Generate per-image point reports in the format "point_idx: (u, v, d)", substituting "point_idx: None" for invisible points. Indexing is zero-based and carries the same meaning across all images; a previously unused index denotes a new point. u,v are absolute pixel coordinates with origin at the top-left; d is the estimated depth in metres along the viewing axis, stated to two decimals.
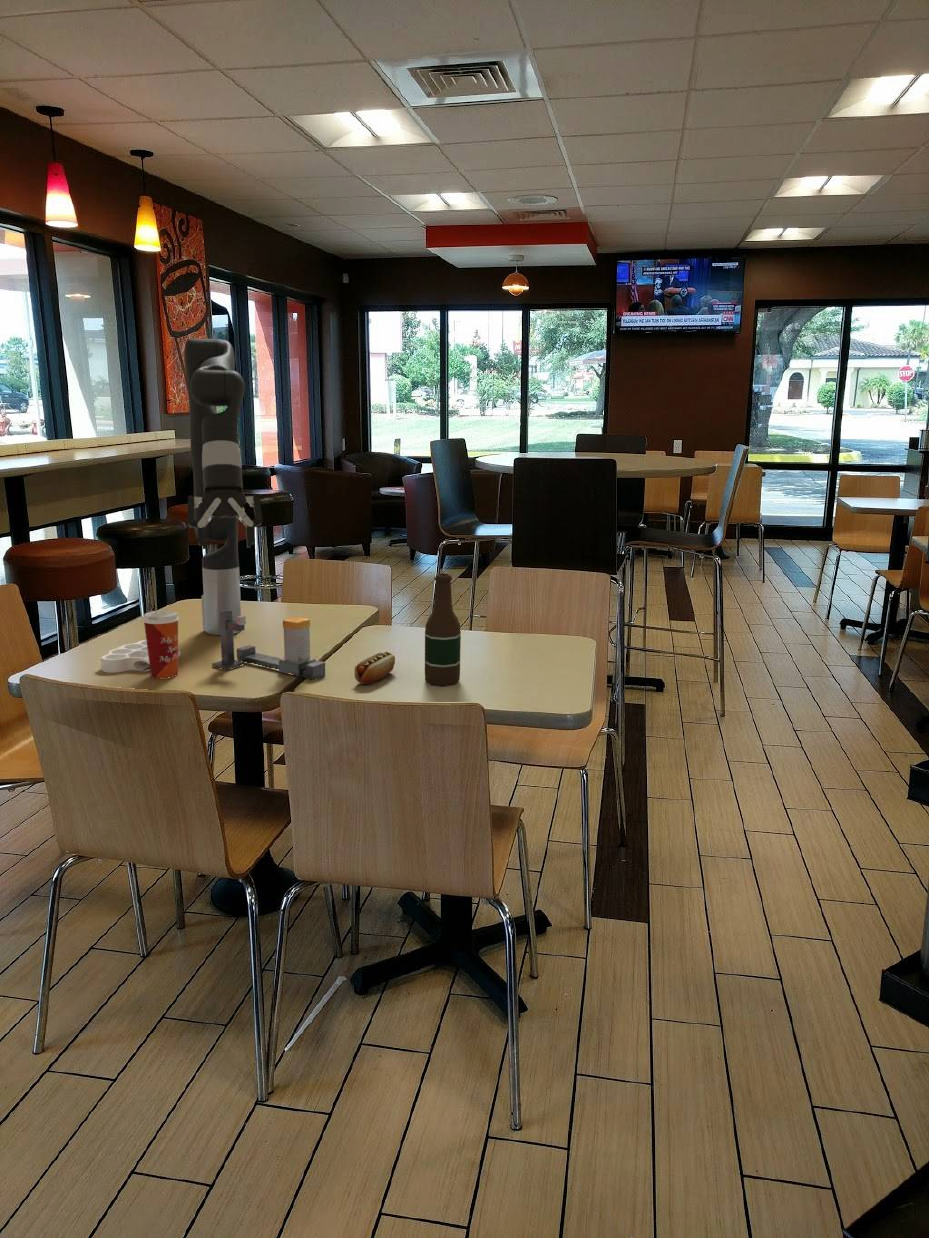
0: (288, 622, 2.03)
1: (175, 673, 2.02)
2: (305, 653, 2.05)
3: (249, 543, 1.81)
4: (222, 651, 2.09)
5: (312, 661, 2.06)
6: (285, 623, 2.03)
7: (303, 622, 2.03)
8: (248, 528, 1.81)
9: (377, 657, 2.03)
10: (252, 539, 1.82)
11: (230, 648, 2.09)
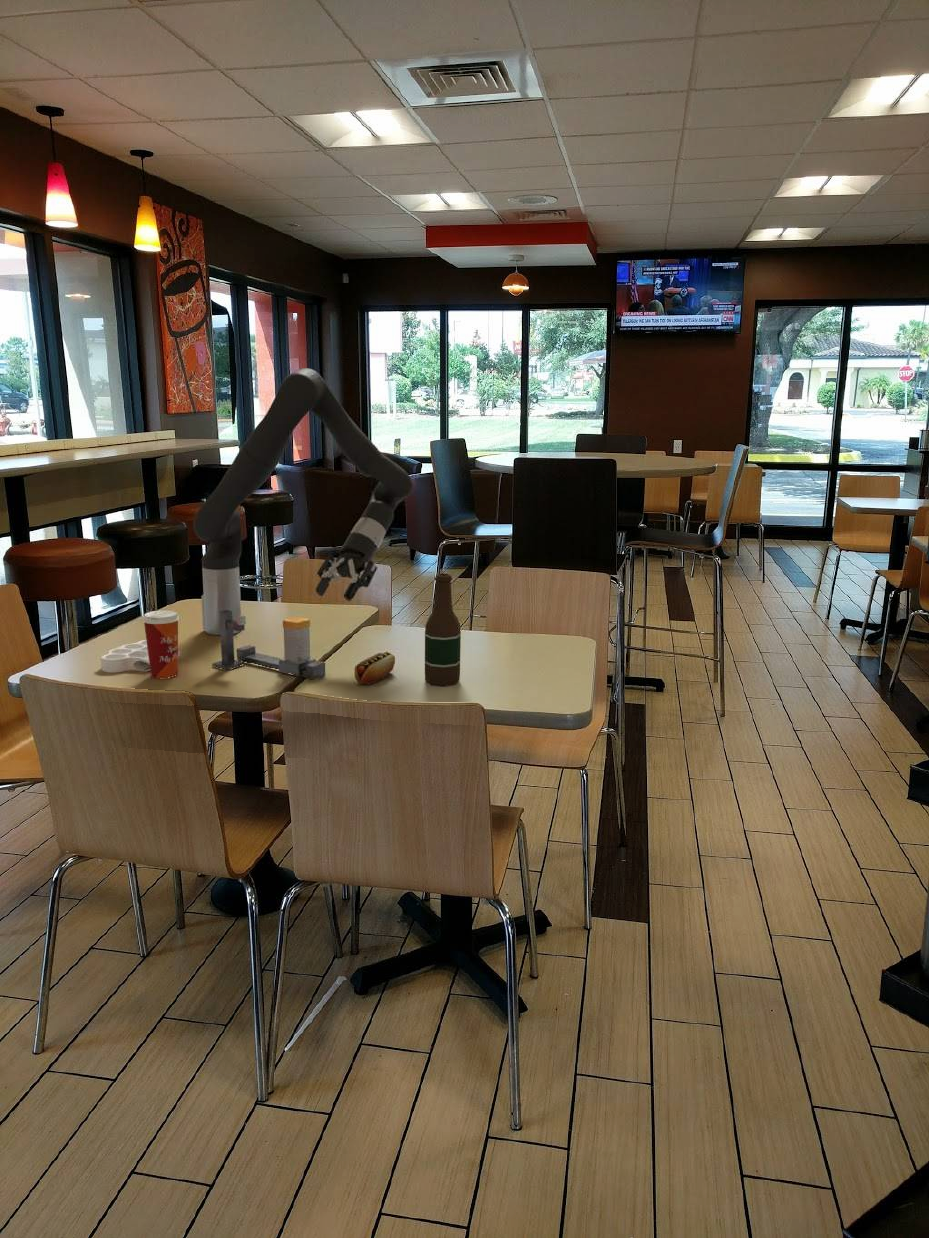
0: (288, 622, 2.03)
1: (175, 673, 2.02)
2: (305, 653, 2.05)
3: None
4: (222, 651, 2.09)
5: (312, 661, 2.06)
6: (285, 623, 2.03)
7: (303, 622, 2.03)
8: None
9: (377, 657, 2.03)
10: None
11: (230, 648, 2.09)
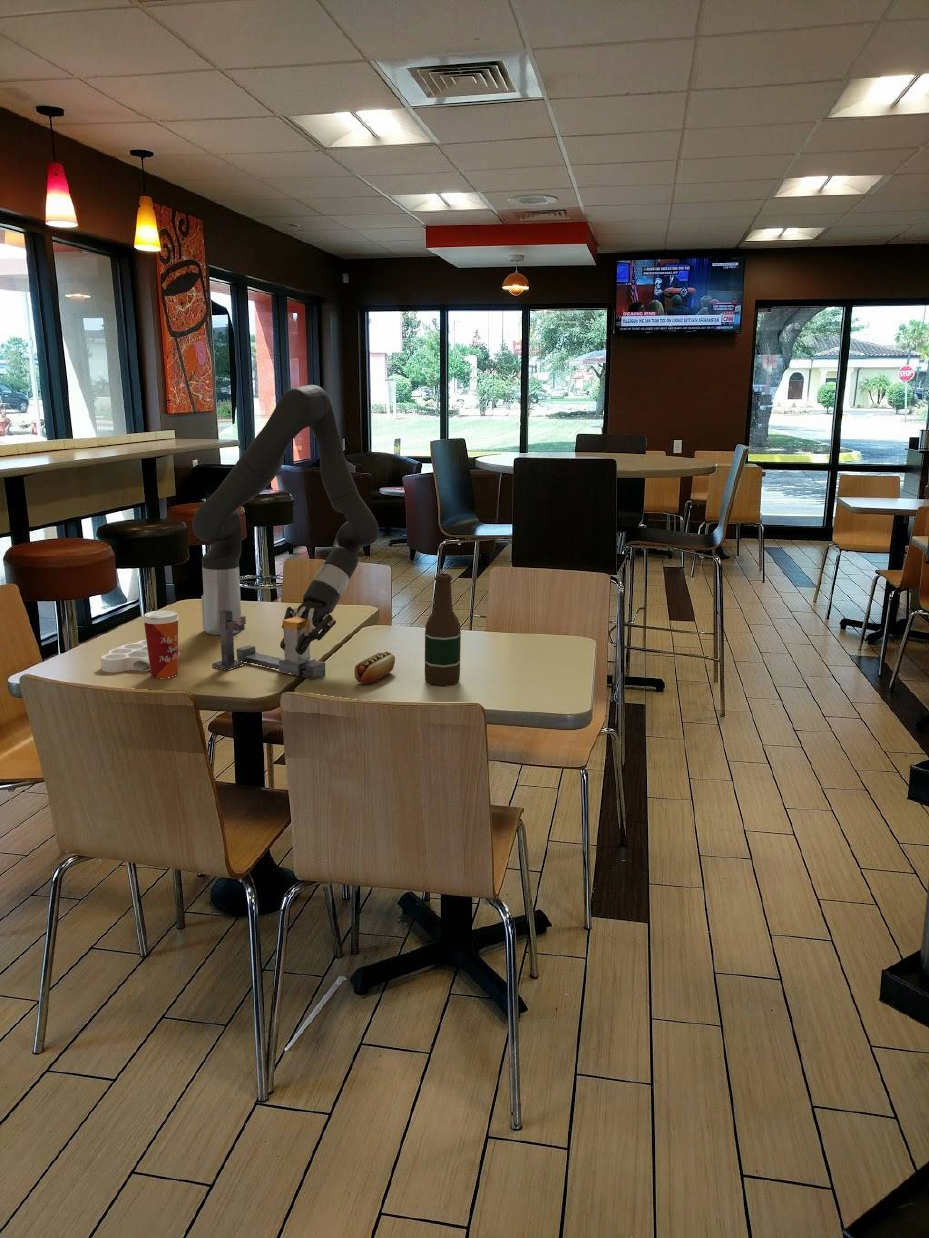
0: (288, 622, 2.03)
1: (175, 673, 2.02)
2: (305, 653, 2.05)
3: None
4: (222, 651, 2.09)
5: (312, 661, 2.06)
6: (285, 623, 2.03)
7: (303, 622, 2.03)
8: None
9: (377, 657, 2.03)
10: None
11: (230, 648, 2.09)
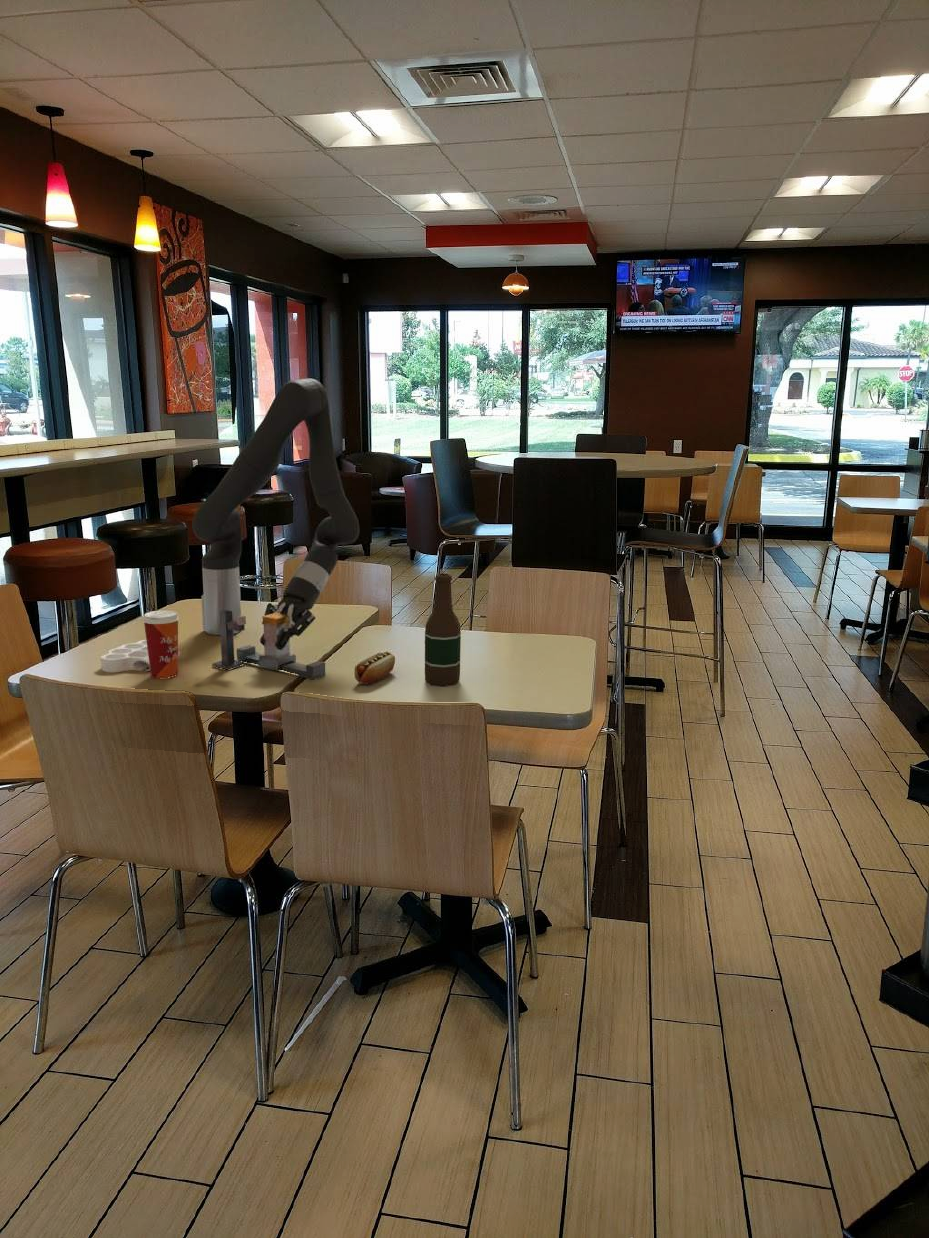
0: (268, 618, 2.06)
1: (175, 673, 2.02)
2: (285, 648, 2.09)
3: None
4: (222, 651, 2.09)
5: (292, 656, 2.09)
6: (265, 619, 2.07)
7: (282, 618, 2.06)
8: None
9: (377, 657, 2.03)
10: None
11: (230, 648, 2.09)
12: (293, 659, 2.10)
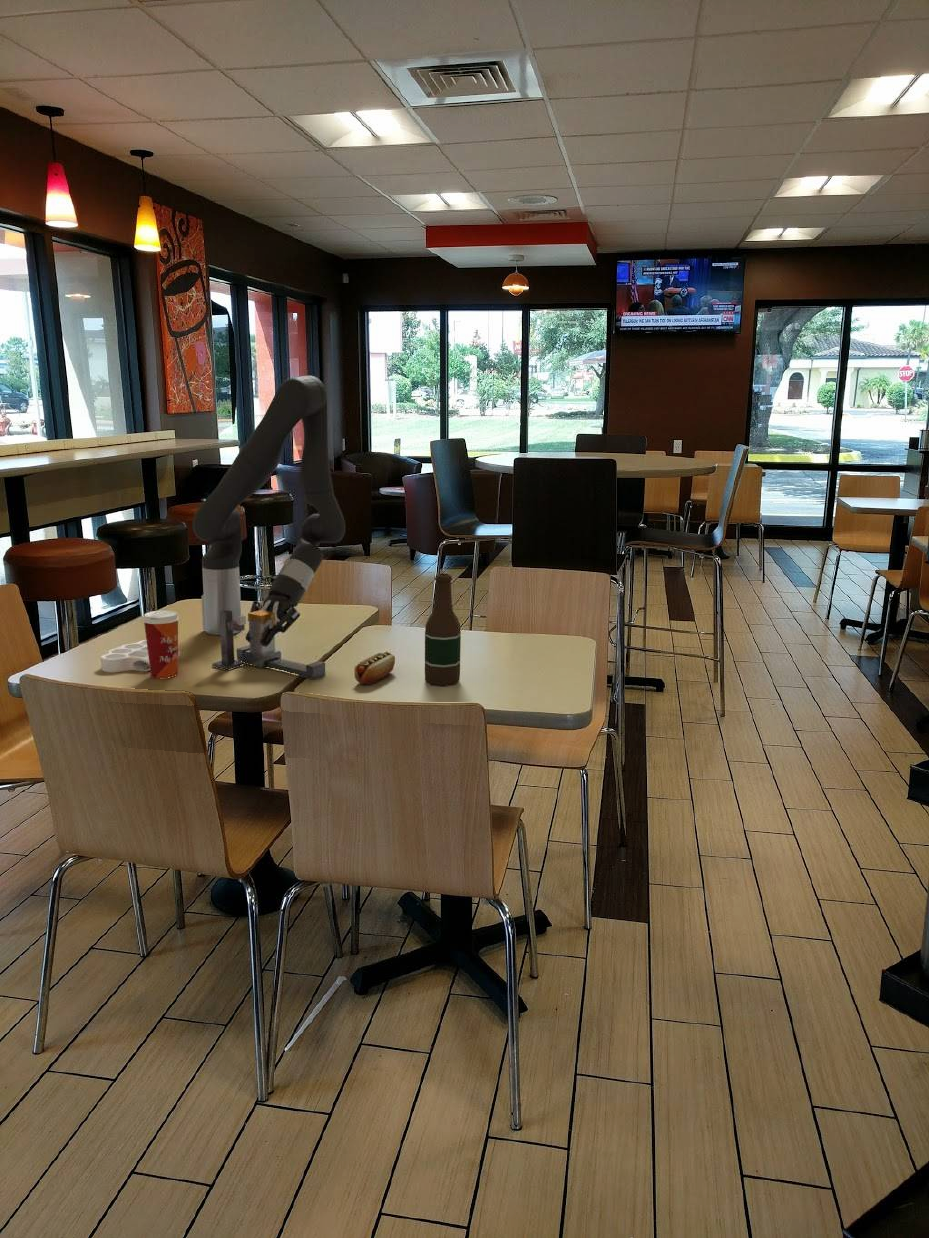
0: (253, 615, 2.09)
1: (175, 673, 2.02)
2: (270, 645, 2.11)
3: None
4: (222, 651, 2.09)
5: (277, 653, 2.12)
6: (250, 616, 2.09)
7: (267, 615, 2.09)
8: None
9: (377, 657, 2.03)
10: None
11: (230, 648, 2.09)
12: (278, 656, 2.12)
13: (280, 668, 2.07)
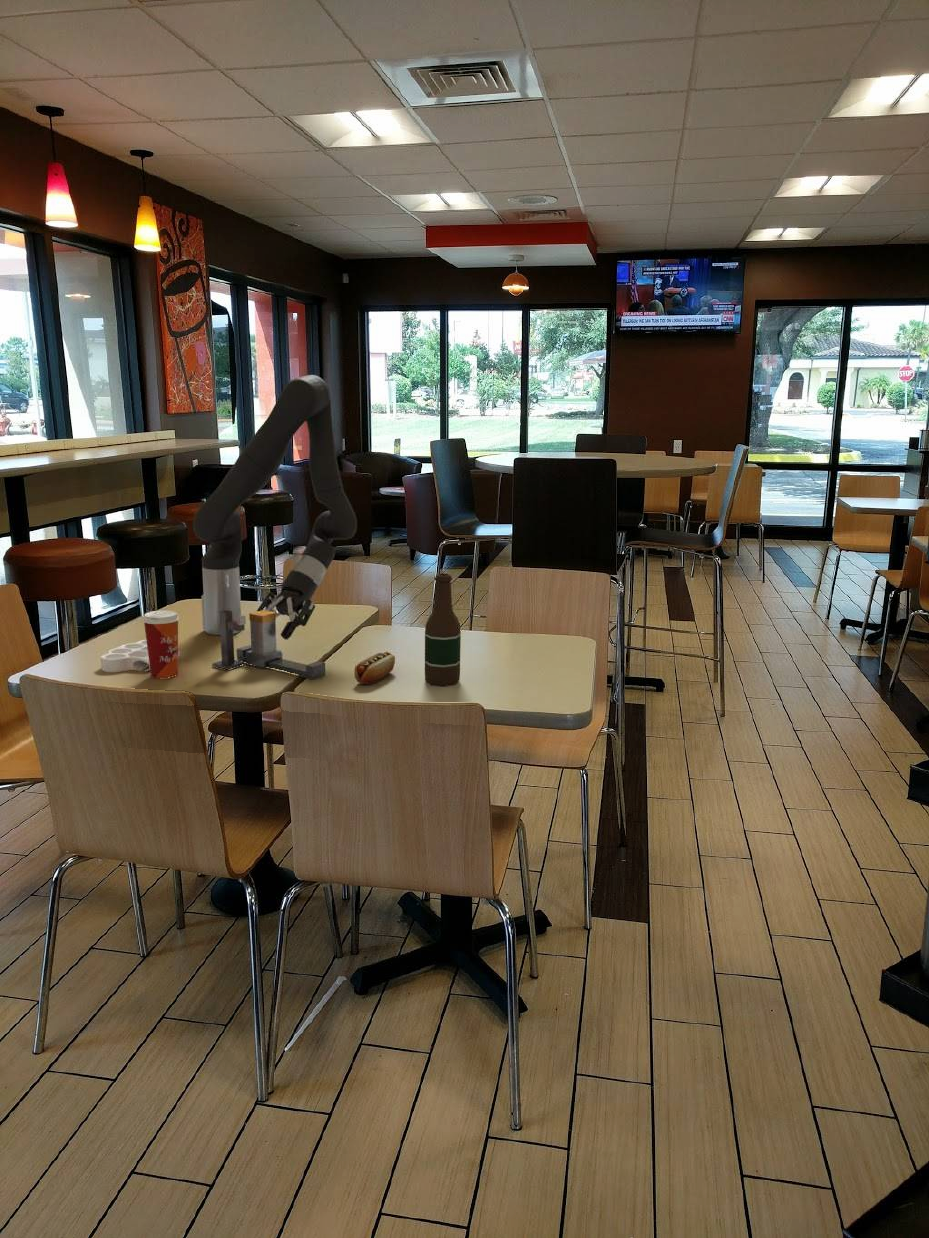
0: (254, 615, 2.08)
1: (175, 673, 2.02)
2: (271, 645, 2.11)
3: None
4: (222, 651, 2.09)
5: (278, 653, 2.12)
6: (252, 617, 2.09)
7: (269, 615, 2.09)
8: None
9: (377, 657, 2.03)
10: None
11: (230, 648, 2.09)
12: (279, 656, 2.12)
13: (280, 668, 2.07)
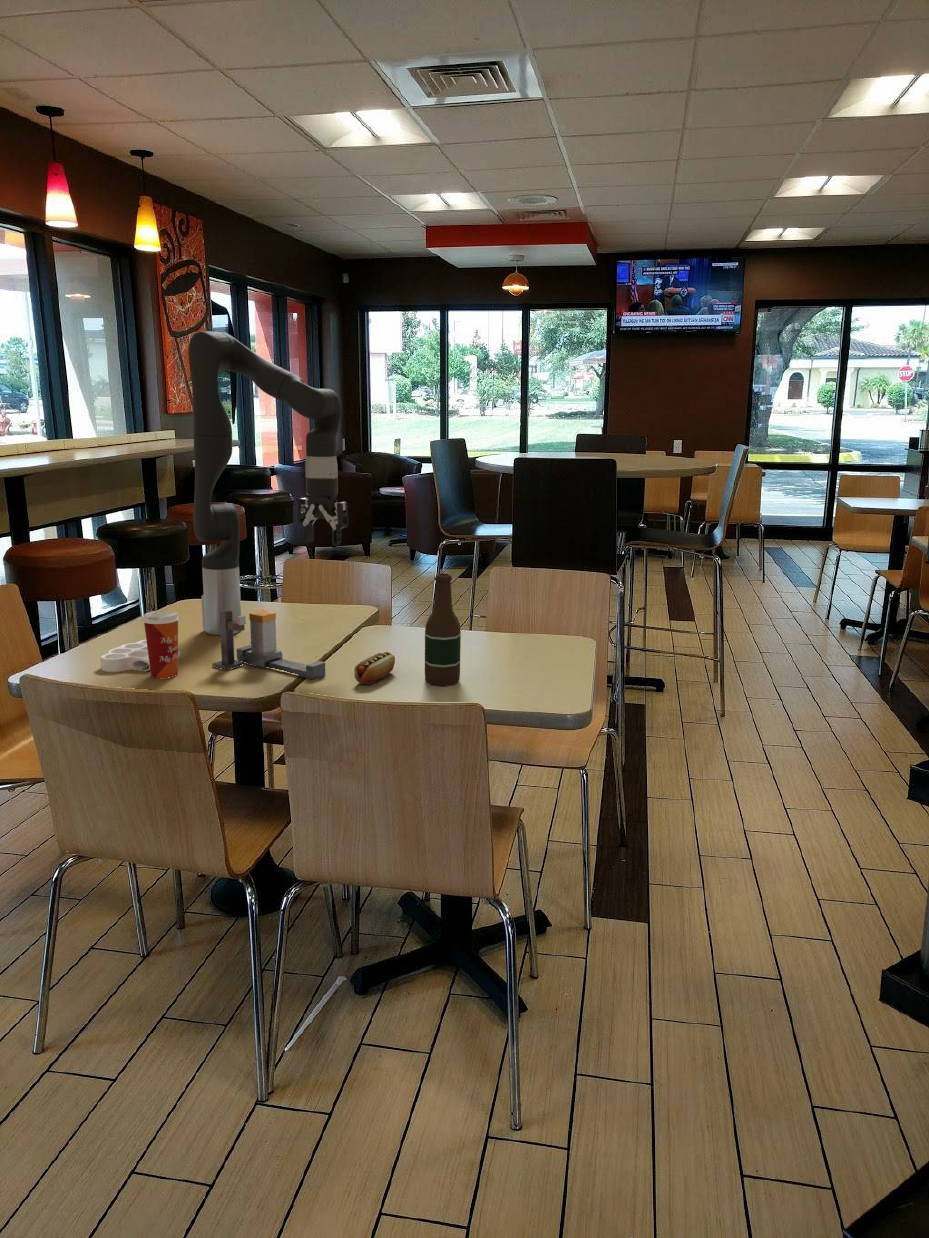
0: (254, 615, 2.08)
1: (175, 673, 2.02)
2: (271, 645, 2.11)
3: None
4: (222, 651, 2.09)
5: (278, 653, 2.12)
6: (252, 617, 2.09)
7: (269, 615, 2.09)
8: None
9: (377, 657, 2.03)
10: None
11: (230, 648, 2.09)
12: (279, 656, 2.12)
13: (280, 668, 2.07)
